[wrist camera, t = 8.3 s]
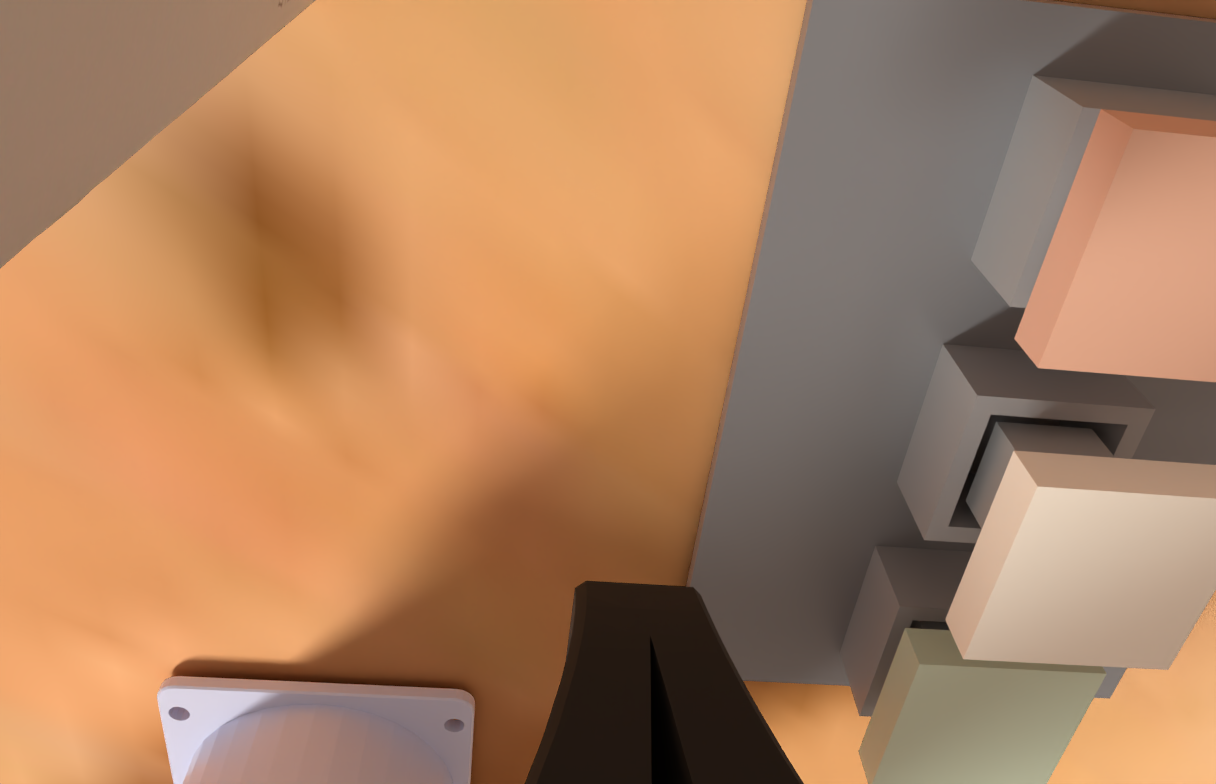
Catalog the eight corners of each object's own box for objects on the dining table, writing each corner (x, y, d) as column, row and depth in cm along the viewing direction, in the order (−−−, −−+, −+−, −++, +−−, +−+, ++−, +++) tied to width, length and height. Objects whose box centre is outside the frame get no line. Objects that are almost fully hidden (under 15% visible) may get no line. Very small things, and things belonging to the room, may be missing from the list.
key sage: (984, 675, 25) (1040, 795, 22) (833, 668, 25) (869, 789, 22) (1037, 559, 23) (1106, 673, 20) (873, 548, 23) (919, 664, 20)
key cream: (1084, 546, 21) (1167, 669, 18) (906, 534, 21) (963, 658, 18) (1159, 390, 19) (1268, 502, 16) (963, 374, 19) (1037, 486, 16)
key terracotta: (1157, 293, 19) (1264, 386, 16) (964, 276, 19) (1037, 368, 16) (1249, 90, 17) (1390, 155, 14) (1034, 67, 17) (1133, 128, 14)
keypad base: (1102, 686, 27) (1146, 761, 25) (669, 665, 26) (678, 741, 24) (1455, 47, 18) (1568, 82, 16) (812, -28, 17) (847, -1, 15)
